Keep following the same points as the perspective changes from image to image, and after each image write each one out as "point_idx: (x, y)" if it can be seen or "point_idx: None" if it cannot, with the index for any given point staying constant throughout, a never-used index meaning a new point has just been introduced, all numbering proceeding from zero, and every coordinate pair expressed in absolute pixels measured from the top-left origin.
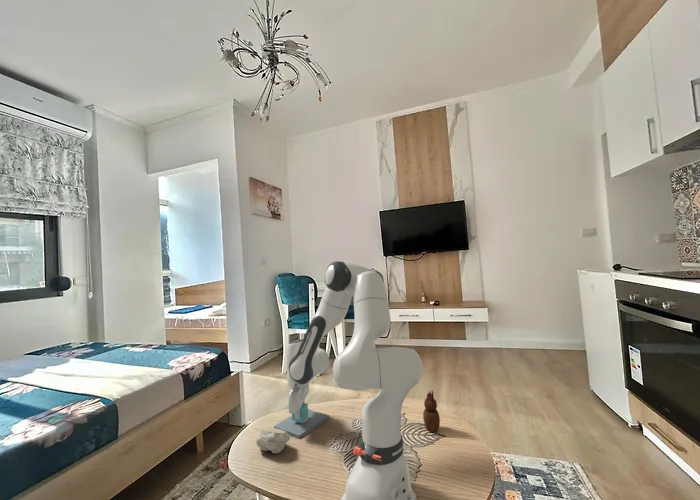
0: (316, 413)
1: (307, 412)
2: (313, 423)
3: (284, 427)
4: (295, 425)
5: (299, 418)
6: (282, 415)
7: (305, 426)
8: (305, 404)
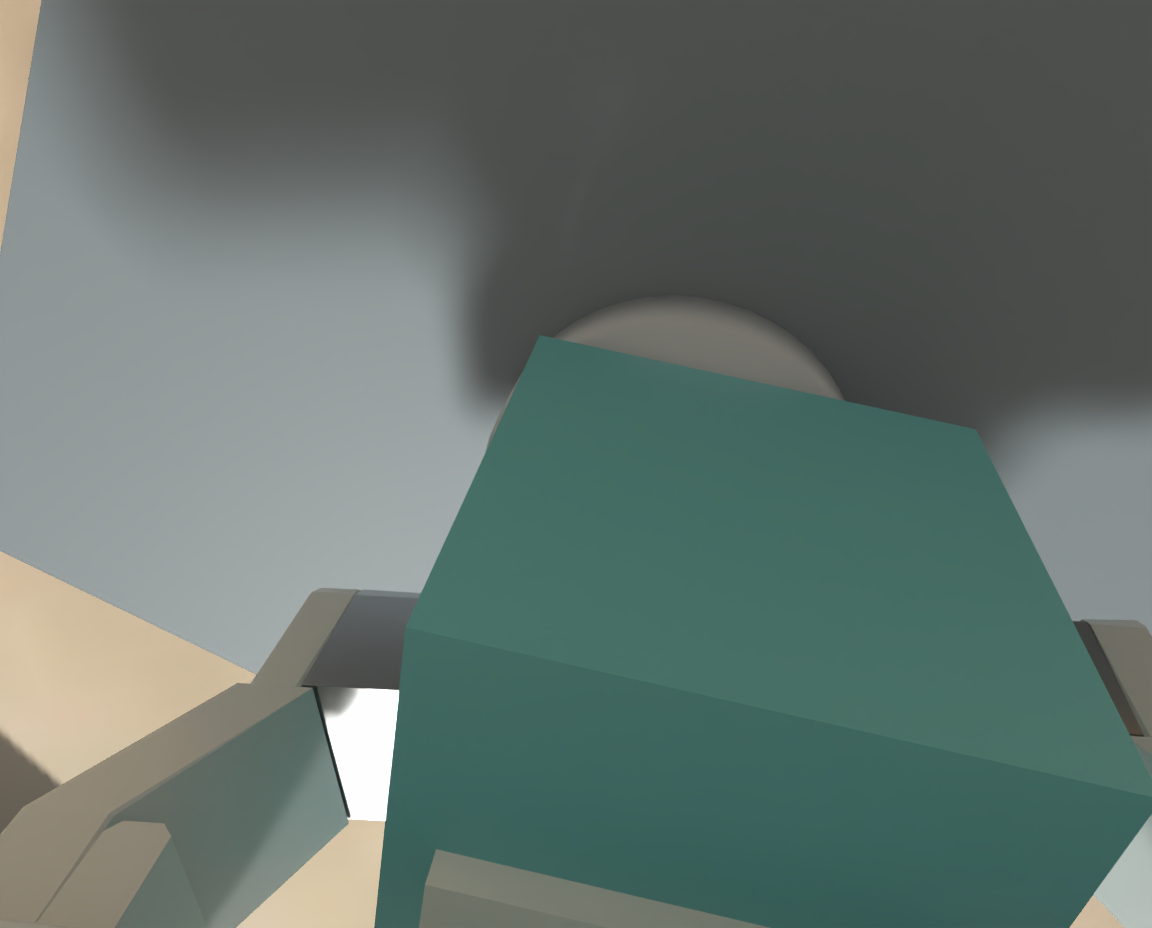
0: (141, 96)
1: (569, 413)
2: (909, 18)
3: None
4: None
5: (1138, 624)
6: (322, 867)
7: (1105, 282)
8: (524, 721)
